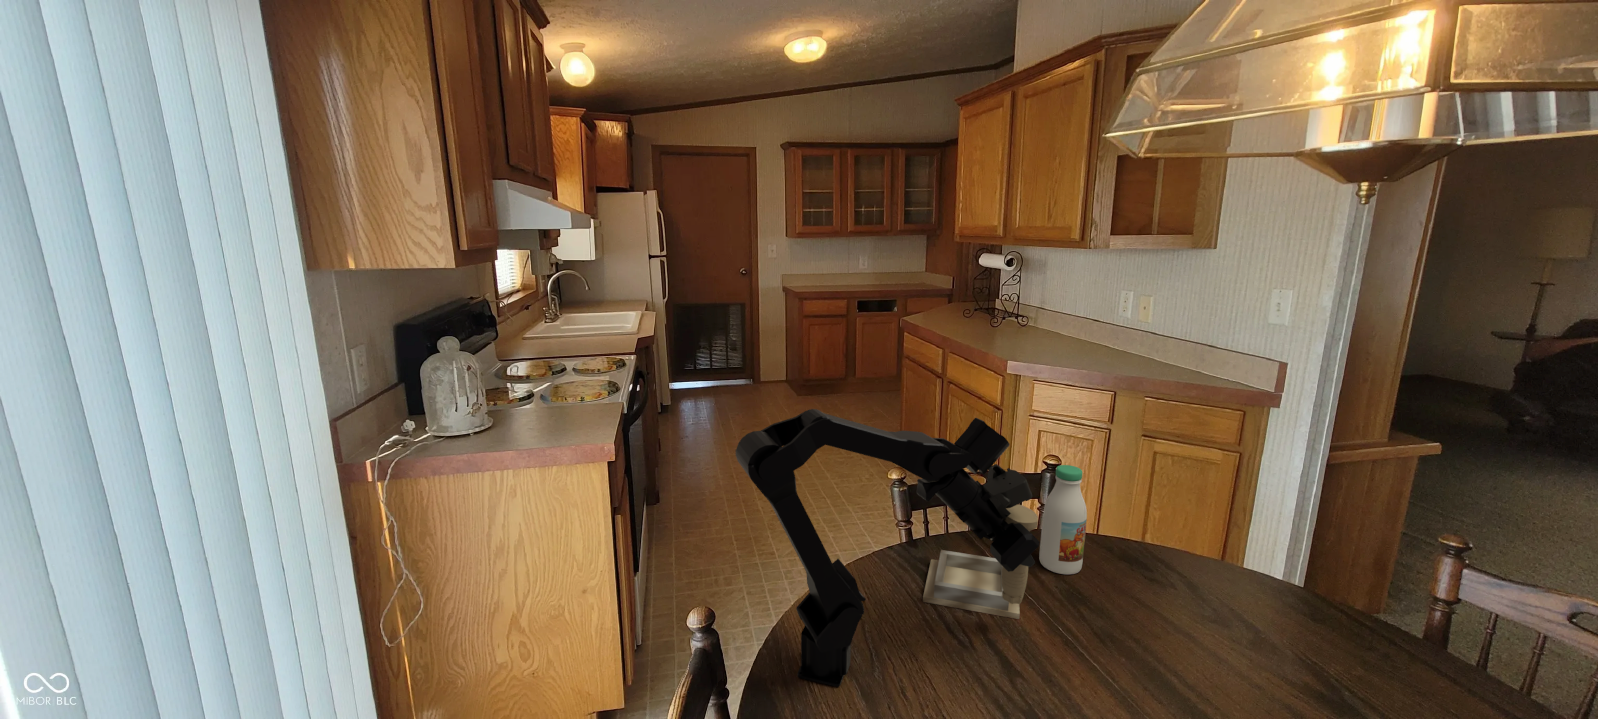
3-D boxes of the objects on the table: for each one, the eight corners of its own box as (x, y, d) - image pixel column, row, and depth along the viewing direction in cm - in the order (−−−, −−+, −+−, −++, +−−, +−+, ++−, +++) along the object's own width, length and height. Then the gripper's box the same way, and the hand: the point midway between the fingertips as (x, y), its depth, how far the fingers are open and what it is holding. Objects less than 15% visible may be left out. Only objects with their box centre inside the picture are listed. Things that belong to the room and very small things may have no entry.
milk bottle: (1040, 572, 117) (1049, 474, 113) (1037, 552, 124) (1045, 459, 120) (1084, 578, 115) (1095, 478, 110) (1078, 557, 122) (1088, 463, 118)
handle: (1005, 611, 95) (1013, 523, 92) (990, 588, 101) (997, 504, 98) (1035, 611, 95) (1044, 522, 92) (1018, 587, 102) (1026, 503, 99)
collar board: (922, 601, 107) (923, 583, 107) (931, 563, 120) (931, 547, 119) (1019, 619, 103) (1020, 600, 102) (1017, 578, 115) (1018, 561, 114)
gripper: (1032, 482, 84) (1097, 550, 88) (975, 437, 102) (1031, 496, 106) (973, 538, 84) (1041, 603, 88) (927, 484, 102) (984, 540, 106)
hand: (1024, 555), depth 97 cm, fingers closed on handle, 5 cm apart
